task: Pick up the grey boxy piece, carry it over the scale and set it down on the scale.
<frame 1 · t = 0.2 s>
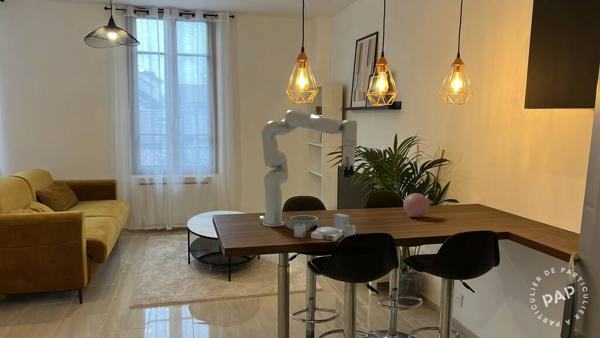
hand: (348, 176, 225), 31 cm above the bar counter, fingers open, 9 cm apart
scale: (327, 236, 220), on the bar counter
dog bowl: (304, 227, 242), on the bar counter
grey boxy piece: (299, 236, 220), on the bar counter
medicine box: (341, 230, 233), on the bar counter
balloon: (418, 217, 270), on the bar counter
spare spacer: (349, 236, 220), on the bar counter
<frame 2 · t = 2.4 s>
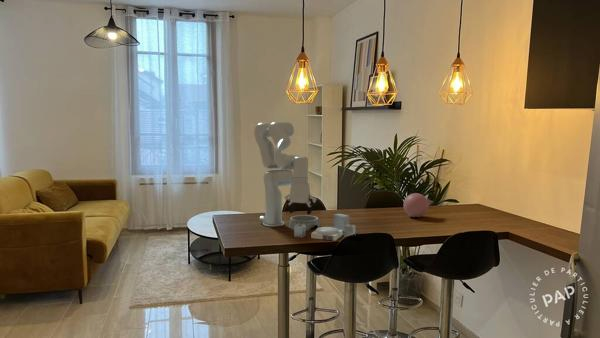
hand: (300, 213, 219), 12 cm above the bar counter, fingers open, 9 cm apart
nothing on the bar counter moved.
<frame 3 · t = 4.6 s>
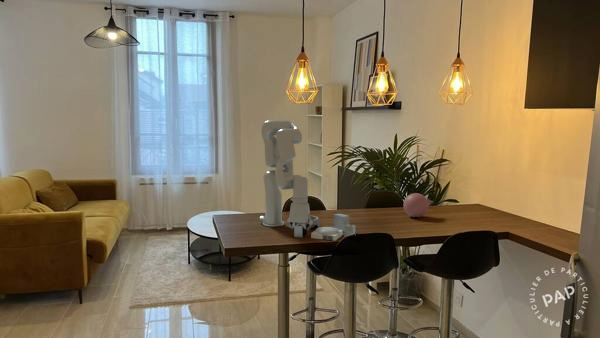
hand: (299, 235, 220), 1 cm above the bar counter, fingers closed on grey boxy piece, 4 cm apart
grey boxy piece: (299, 236, 220), on the bar counter, touching gripper
everything else where it was.
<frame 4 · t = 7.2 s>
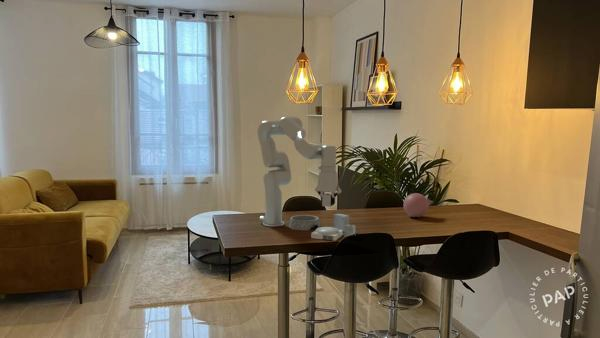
hand: (327, 204, 219), 17 cm above the bar counter, fingers closed on grey boxy piece, 4 cm apart
grey boxy piece: (327, 205, 219), point 16 cm above the bar counter, touching gripper
everything else where it was.
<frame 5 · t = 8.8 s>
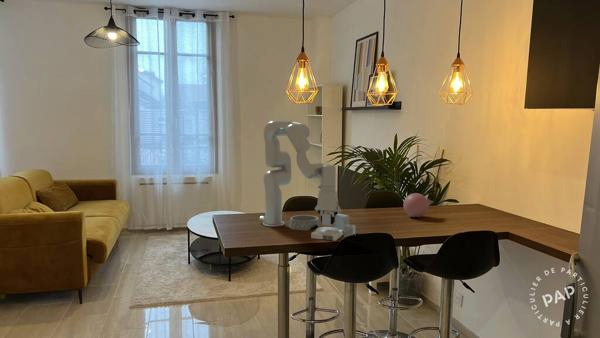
hand: (327, 223, 220), 7 cm above the bar counter, fingers closed on grey boxy piece, 4 cm apart
grey boxy piece: (327, 224, 220), point 6 cm above the bar counter, touching gripper
everything else where it was.
when the fingers open (5 cm above the bar counter, at t = 10.0 s): grey boxy piece stays where it is, resting on scale.
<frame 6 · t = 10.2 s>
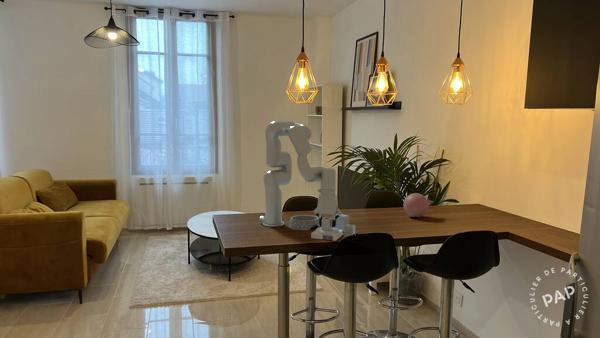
hand: (327, 226, 220), 5 cm above the bar counter, fingers open, 6 cm apart
grey boxy piece: (327, 229, 220), point 3 cm above the bar counter, touching scale
everything else where it was.
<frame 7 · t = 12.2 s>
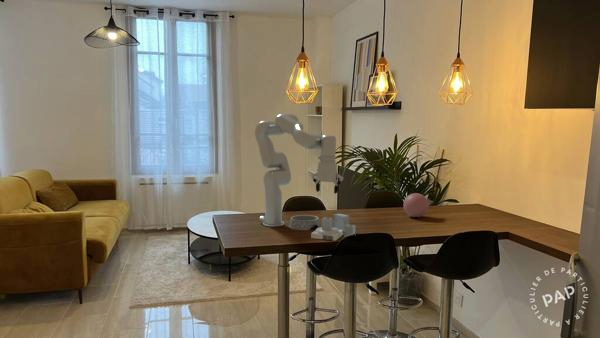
hand: (326, 192, 220), 23 cm above the bar counter, fingers open, 9 cm apart
nothing on the bar counter moved.
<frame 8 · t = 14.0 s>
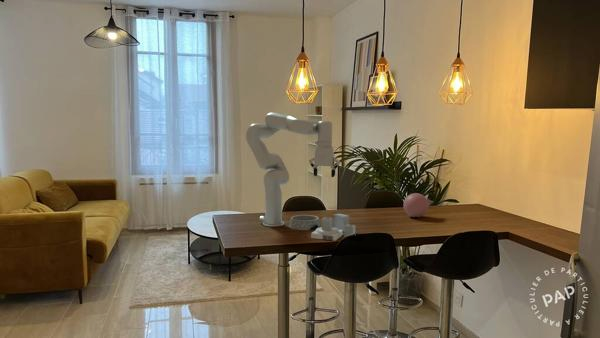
hand: (324, 176, 227), 30 cm above the bar counter, fingers open, 9 cm apart
nothing on the bar counter moved.
at the end: grey boxy piece inside the target area on the scale (0.1 cm from its centre), point 3.5 cm above the scale's base; grey boxy piece tilted 0°; the gripper is holding nothing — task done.
